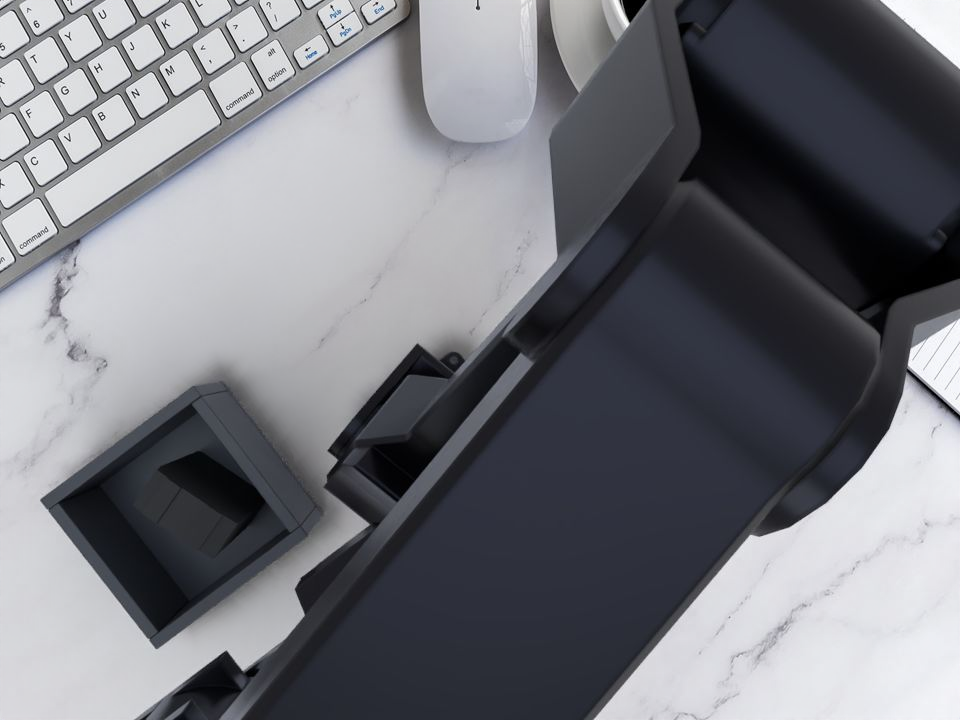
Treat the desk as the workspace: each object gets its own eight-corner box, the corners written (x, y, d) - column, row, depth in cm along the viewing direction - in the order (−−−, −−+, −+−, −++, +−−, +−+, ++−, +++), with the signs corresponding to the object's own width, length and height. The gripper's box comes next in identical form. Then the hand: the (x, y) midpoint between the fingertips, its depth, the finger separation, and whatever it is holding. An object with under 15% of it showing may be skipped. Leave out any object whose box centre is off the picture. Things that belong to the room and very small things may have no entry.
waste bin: (222, 380, 51) (193, 385, 45) (324, 513, 51) (308, 536, 45) (86, 481, 51) (38, 500, 45) (189, 614, 51) (156, 650, 45)
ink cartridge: (177, 480, 50) (126, 506, 42) (199, 449, 50) (153, 468, 42) (246, 528, 51) (209, 562, 43) (269, 496, 51) (236, 525, 43)
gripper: (70, 1289, 24) (217, 916, 39) (602, 879, 24) (540, 670, 40) (-181, 982, 23) (68, 727, 39) (366, 570, 24) (396, 481, 39)
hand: (274, 656), depth 39 cm, fingers open, 9 cm apart
